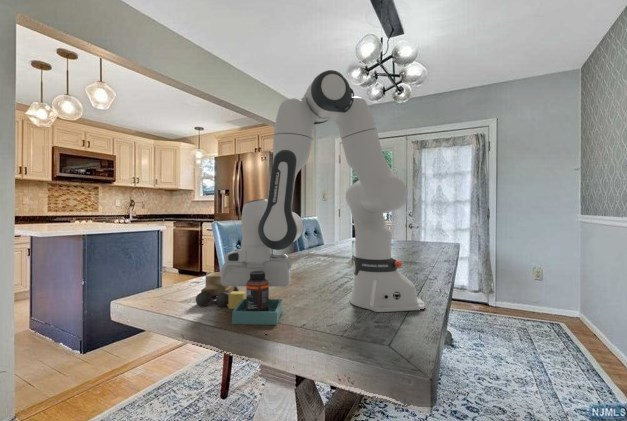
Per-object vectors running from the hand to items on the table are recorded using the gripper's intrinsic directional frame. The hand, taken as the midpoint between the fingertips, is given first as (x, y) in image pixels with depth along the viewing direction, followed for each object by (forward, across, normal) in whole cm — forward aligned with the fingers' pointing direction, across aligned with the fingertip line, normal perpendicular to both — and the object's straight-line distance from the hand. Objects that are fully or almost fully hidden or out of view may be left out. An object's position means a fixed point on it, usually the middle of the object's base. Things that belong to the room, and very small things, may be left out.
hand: (256, 301), depth 90 cm
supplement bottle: (+1, -2, +8) cm, 9 cm away
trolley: (+2, +13, -4) cm, 13 cm away
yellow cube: (+2, +6, 0) cm, 6 cm away
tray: (+2, -2, +8) cm, 9 cm away
